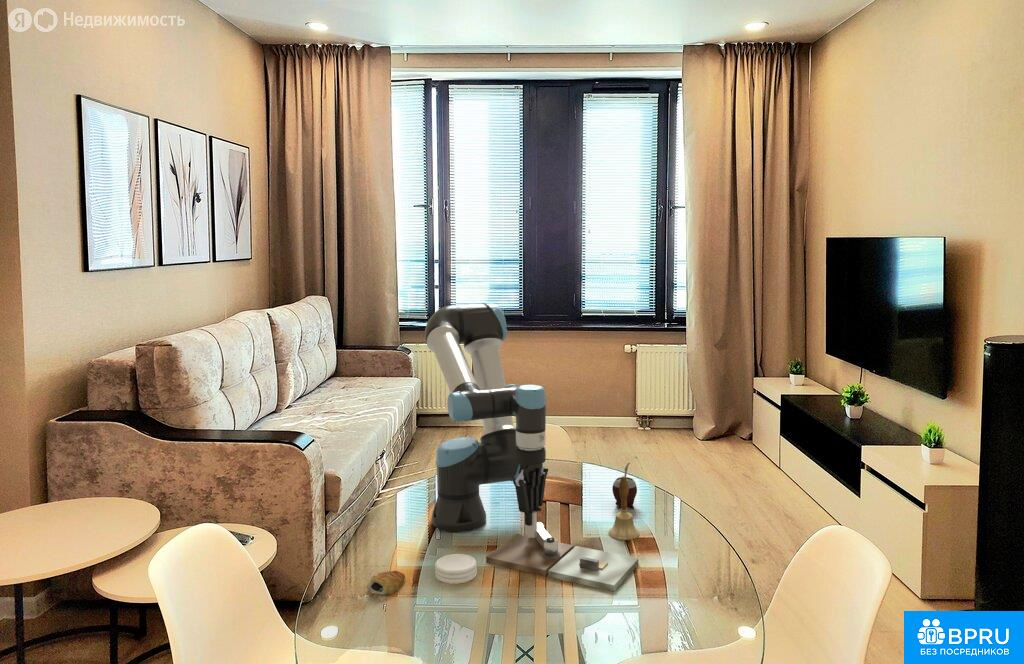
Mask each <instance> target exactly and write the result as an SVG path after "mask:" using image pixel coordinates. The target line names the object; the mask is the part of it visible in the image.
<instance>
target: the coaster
mask: <svg viewBox="0 0 1024 664" xmlns="http://www.w3.org/2000/svg"><path fill="white" fill-rule="evenodd" d="M477 565H478V564H477V561H476V559H475V557H473V556H471V555H468V554H463V553H454V554H453V553H452V554H451V553H450V554H446V555H443V556H441V557H440V558H439V557H438V559H437V560H436V561H435V563H434V571H435V572H434V575H435V578H436V580H438V581H439V582H441V583H444V584H451V585H458V584H459V583H460V584H464V583H469V582H470V580H471V581H472V580H474V579H475V578H476V576H477V574H478V572H477V570H478V569H477ZM460 584H459V585H460Z"/></svg>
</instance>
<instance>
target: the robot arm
mask: <svg viewBox="0 0 1024 664" xmlns="http://www.w3.org/2000/svg"><path fill="white" fill-rule="evenodd" d="M507 327H508V326H507V321H506V317H505V314H504V311H503V310H502V309H501V307H500V306H499V305H497V304H496V303H485V302H482V303H473V304H458V305H446V306H444V307H443V306H442V307H441V308H439V309H438V310H436V312H434V313H433V314H432V315H431V317H429V319H428V320H427V323H426V326H425V330H424V339H425V343H426V345H427V347H428V349H429V350H430V351H431V352H432V353H433V354H434V356H435V358H436V361H437V362H438V366H439V368H440V370H441V372H442V375H443V378H444V380H445V382H446V385H447V387H448V390H449V392H450V393H449V394H448V396H447V400H446V401H447V411H448V415H449V418H450V420H451V421H453V422H469V421H471V422H472V421H477V420H478V421H479V420H481V421H482V425H483V430H484V431H483V432H482V434H481V435H480V441H478V439H477V438H475V437H472V436H459V437H455V438H452V439H448V440H445V441H444V442H442V443H441V444H440V445H438V447H437V448H436V456H435V457H436V459H435V465H436V486H437V488H436V489H437V498H436V502H435V504H434V508H433V511H432V515H431V524H432V523H433V525H434V526H435V527H436V528H438V529H439V531H440V532H441V531H442V532H446V533H467V532H472V531H475V530H479V529H481V528H483V527H484V526H485V525H486V523H487V513H486V510H485V507H484V504H483V501H482V498H481V496H480V495H481V494H480V485H488V484H495V483H503V482H512V483H513V485H514V487H515V493H516V499H517V504H518V505H517V506H518V511H519V512H521V513H524V530H525V531H524V532H525V534H524V535H525V536H529V537H532V538H535V537H537V522H538V512H541V511H542V508H541V507H542V506H543V503H544V497H545V487H546V480H547V476H548V474H549V473H548V472H549V468H547V467H544V466H543V464H544V463H545V462H546V460H547V457H546V455H547V452H546V451H547V450H546V438H547V437H546V426H547V425H546V422H547V421H546V419H547V418H546V416H547V415H546V413H547V411H546V410H547V407H546V405H547V398H546V389H545V388H544V387H543V386H542V385H536V384H522V385H520V384H515V383H513V384H512V383H510V384H506V380H505V374H504V373H505V372H504V368H503V363H502V357H501V352H500V349H501V348H502V346H503V345H504V341H505V340H506V339H507V335H508V334H507V333H508V329H507ZM461 345H463V347H464V351H465V353H467V354H468V355H470V356H471V357H470V358H471V362H472V363H471V364H472V368H473V369H471V367H470V365H469V362H468V360H467V358H466V355H465V353H464V352H463V349H462V347H461ZM472 370H473V371H472ZM513 417H515V425H514V422H513ZM433 525H432V526H433ZM434 526H433V527H434ZM435 527H434V528H435ZM436 528H435V529H436ZM438 529H437V530H438Z"/></svg>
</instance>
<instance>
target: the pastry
mask: <svg viewBox="0 0 1024 664" xmlns="http://www.w3.org/2000/svg"><path fill="white" fill-rule="evenodd" d="M405 581H406V576H405V573H403V572H400V571H399V570H391V571H390V570H389V571H384V572H378V573H377V574H376V575H373V576H372V578H371V579H370V580H369V582H368V584H367V585H366V589H367V590H368V592H369V591H371V592H373V593H372V594H374V593H375V594H374V595H380V596H389V595H392V594H394V593H395V592H397V591H398V589H400V588H402V587H403V585H404V584H405ZM403 583H404V584H403ZM402 584H403V585H402ZM371 592H370V593H371Z"/></svg>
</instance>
